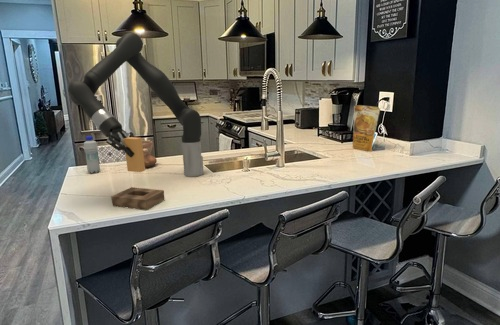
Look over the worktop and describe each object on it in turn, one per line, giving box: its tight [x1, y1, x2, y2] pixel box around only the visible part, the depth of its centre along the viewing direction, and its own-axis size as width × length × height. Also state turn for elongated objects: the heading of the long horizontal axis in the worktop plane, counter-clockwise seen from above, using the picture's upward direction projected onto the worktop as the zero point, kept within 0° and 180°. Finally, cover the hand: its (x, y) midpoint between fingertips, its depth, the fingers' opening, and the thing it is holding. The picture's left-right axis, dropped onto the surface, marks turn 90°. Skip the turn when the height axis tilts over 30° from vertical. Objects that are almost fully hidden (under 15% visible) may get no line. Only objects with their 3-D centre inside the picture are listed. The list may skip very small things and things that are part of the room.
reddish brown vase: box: [142, 140, 157, 169], centre depth 198 cm, size 18×14×14 cm
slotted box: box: [111, 186, 166, 211], centre depth 140 cm, size 16×12×4 cm
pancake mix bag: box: [352, 104, 381, 152], centre depth 224 cm, size 7×19×28 cm, turn 30°
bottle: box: [83, 135, 101, 174], centre depth 186 cm, size 7×7×20 cm
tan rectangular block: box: [124, 136, 146, 173], centre depth 136 cm, size 6×3×13 cm, turn 70°
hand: (135, 154), depth 136 cm, fingers closed on tan rectangular block, 3 cm apart
